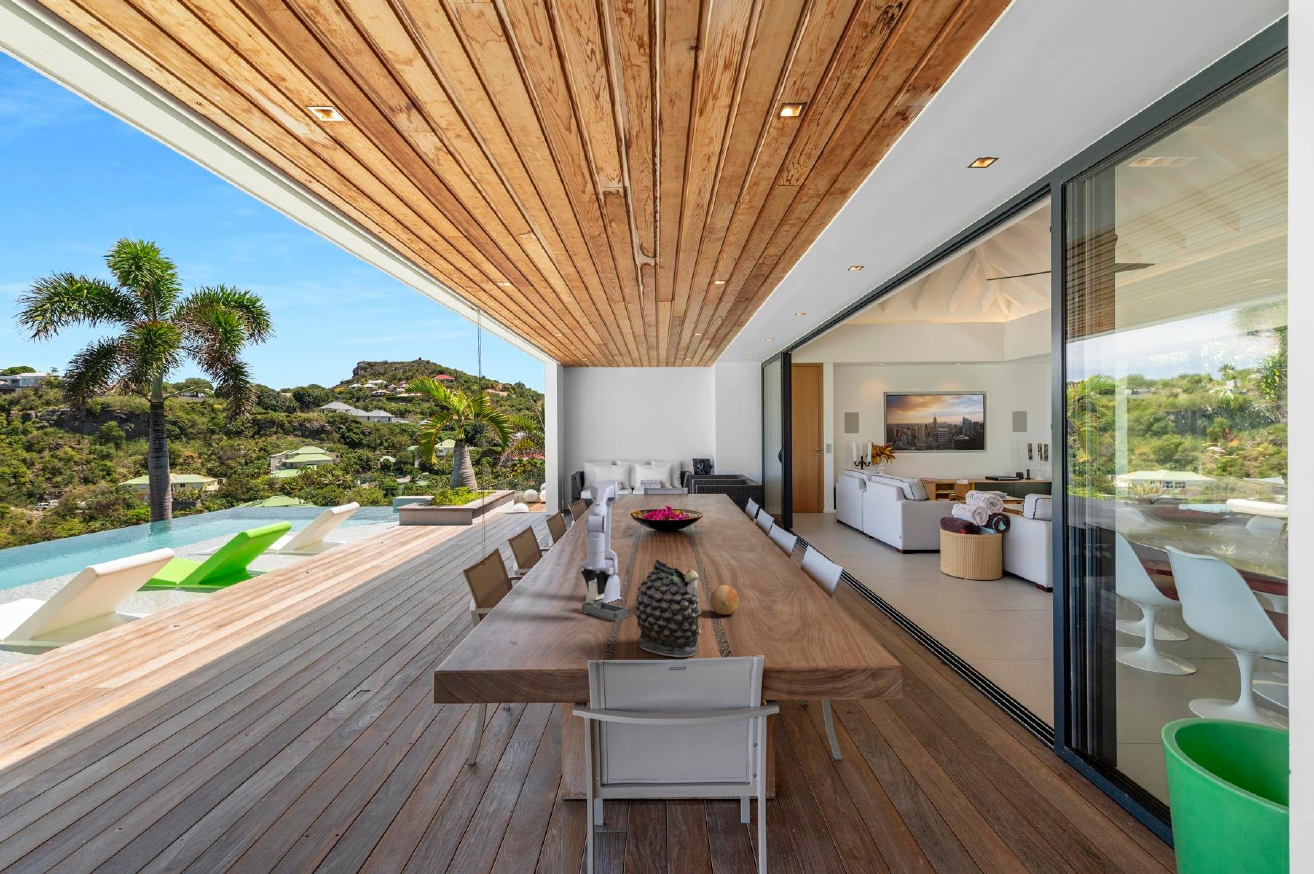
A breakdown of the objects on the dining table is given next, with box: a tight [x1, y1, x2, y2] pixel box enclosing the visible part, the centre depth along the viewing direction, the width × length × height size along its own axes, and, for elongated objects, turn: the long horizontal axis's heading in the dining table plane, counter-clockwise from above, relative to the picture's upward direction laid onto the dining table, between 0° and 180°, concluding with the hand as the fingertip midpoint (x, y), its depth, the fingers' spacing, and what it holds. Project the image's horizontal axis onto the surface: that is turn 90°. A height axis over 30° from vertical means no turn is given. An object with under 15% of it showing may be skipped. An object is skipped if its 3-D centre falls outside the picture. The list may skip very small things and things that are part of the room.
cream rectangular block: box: [587, 580, 604, 600], centre depth 196 cm, size 4×4×5 cm
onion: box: [709, 584, 740, 616], centre depth 201 cm, size 10×10×10 cm
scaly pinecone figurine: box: [633, 559, 702, 658], centre depth 168 cm, size 21×15×25 cm
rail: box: [581, 591, 631, 623], centre depth 201 cm, size 7×16×7 cm, turn 50°
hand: (596, 592), depth 196 cm, fingers closed on cream rectangular block, 4 cm apart
